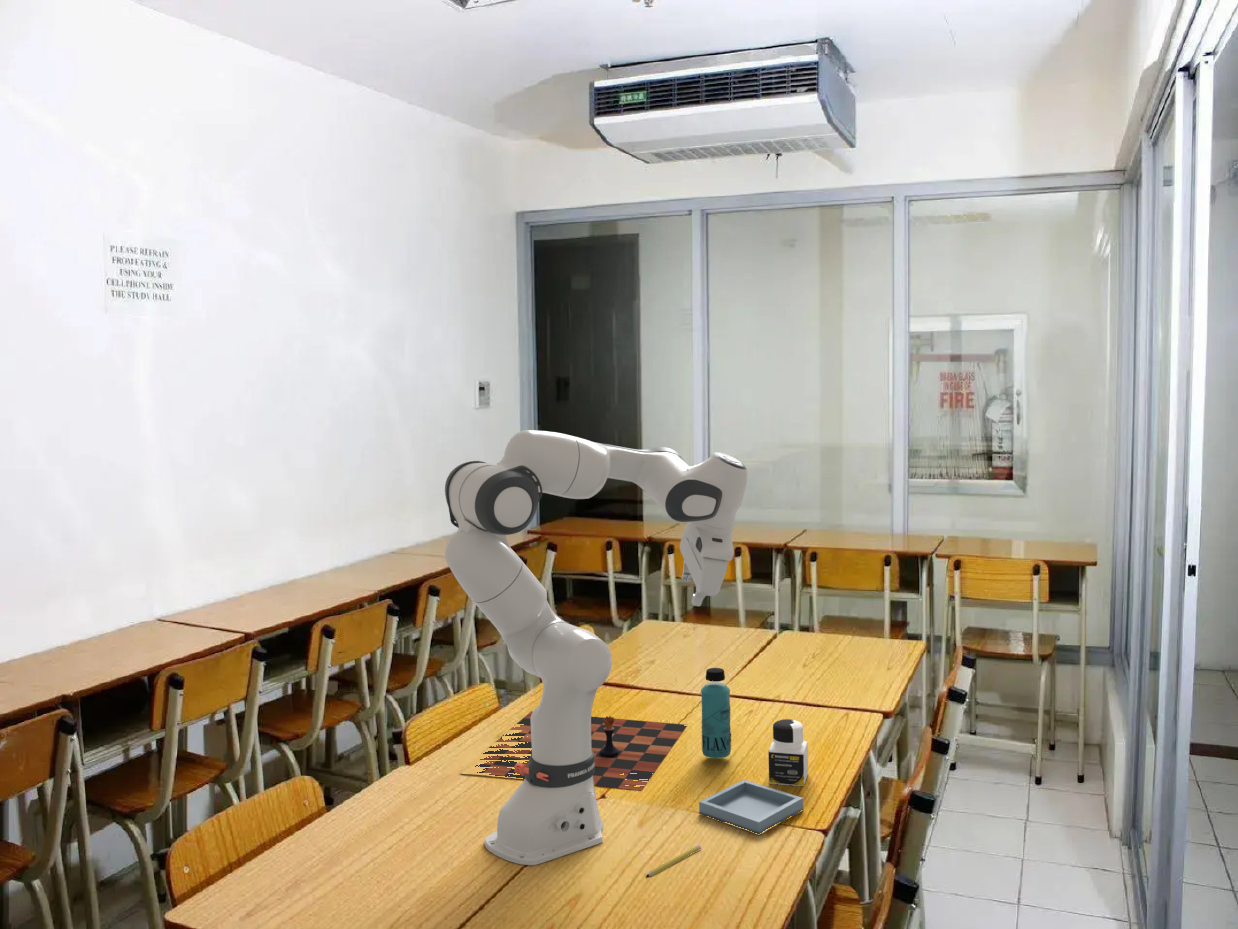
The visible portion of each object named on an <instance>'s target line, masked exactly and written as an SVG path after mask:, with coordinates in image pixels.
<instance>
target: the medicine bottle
mask: <svg viewBox="0 0 1238 929" xmlns="http://www.w3.org/2000/svg"><path fill="white" fill-rule="evenodd" d="M808 744H809V742H808V741H807V740H804V726H803V723H802V722H800V721H797V720H795V719H789V718H785V719H779V720H777V721H775V722H773V724H772V742H771V745H770V747H769V749H768V753H767V754H768V783H769V784H770V785H777V784H778V785H780V786H789V785H795V786H794V787H800V786H803V787H804V786H805V784H806V780H807V778H808V774H809V752H808V751H809V749H808V748H809V747H808V746H809V745H808Z"/></svg>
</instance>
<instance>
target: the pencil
mask: <svg viewBox="0 0 1238 929" xmlns="http://www.w3.org/2000/svg"><path fill="white" fill-rule="evenodd" d="M699 849H701V850H702V847H701V846H700V844H697V845H695V846H694V847H692V848H690V849H688V850H686V851H684V852H682V853H681V854H679V855H677V856H675V857H673V858H672V859H669V860H667V861H666V862H664V863H662V864H660V865H659V866H656V867H655V868H653V869H651V870H649V871H648V873H647V874H646V876H645V878H647V877H648V878H649V877H652V876H656V875H657V874H659V873H660V871H661V872H662V870H663V871H665V870H666V869H668V868H670V867H671V866H670V865H672V866H673V864H674V865H675V864H677V863H679V862H680V861H679V860H681V859H683V860H685V859H686V858H688V857H689V856H688V855H690V854H691V853H693V852H696V851H697V852H699V851H700V850H699ZM698 850H699V851H698ZM697 852H696V853H697ZM687 856H688V857H687ZM690 856H691V855H690ZM685 857H686V858H685ZM684 858H685V859H684ZM678 861H679V862H678ZM681 861H682V860H681ZM676 862H677V863H676ZM669 866H670V867H669ZM667 867H668V868H667ZM665 868H666V869H665Z"/></svg>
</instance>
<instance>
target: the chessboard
mask: <svg viewBox="0 0 1238 929" xmlns="http://www.w3.org/2000/svg"><path fill="white" fill-rule="evenodd" d="M533 711H534V710H531V711H529V712H528V714H526V715H525V716H524V717H523V718H521V719H520V720H519V721H518V722H517V723H516V724H524V725H520V727H515V728H514V727H513V726H512V727H511V728H510V729H509V730H522V731H521V732H519V733H515V734H514V733H513V734H512V735H511V734H509V735H507V734H506V735H505V736H524V738H523V737H521V738H519V737H518V738H517V739H516V738H514V739H512V738H511V740H509V739H508V740H505V741H504V740H503V739H502V736H504V734H502V736H500V737H501V738H500V737H499V738H500V739H499V738H498V739H497V740H496V741H495V742H525V744H523V743H521V744H519V743H518V745H519V746H518V745H515V746H516V747H515V746H509V745H507V744H504V745H503V744H501V746H500V745H499V744H498V746H497V745H496V747H494V746H493V747H492V746H491V745H490V746H489V747H488V748H532V743H531V715H532V712H533ZM684 725H685V724H683V723H672V722H669V723H668V722H658V721H647V720H639V719H638V720H635V719H624V718H615V717H614V716H610V715H609V717H608V716H605V717H603V716H602V717H601V716H591V747H592V751H593V753H594V762H595V773H594V775H593V781H594V786H597V787H596V788H604V787H606V789H615V788H616V789H617V790H626V791H627V790H629V791H638V792H642V791H643V790H644V789H645V787H646V785H647V784H648V783H647V782H642V781H648V782H649V781H650V780H651V778H653V777H652V775H654V774H655V773H656V772H657V770H658V768H659V767H660V765H661V764H662V763H663V761H664V760H665V759H666V757H667V756H668V754H669V752H671V750H672V749H673V747H674V745H675V744H676V743H677V741H678V740H679V739H680V737H681V736H682V734H683V733H684V731H685V730H686V728H687V727H688V726H684ZM527 736H528V737H527ZM527 742H528V743H527ZM499 750H500V751H498V750H497V751H495V752H494V751H488V752H485V753H483V752H482V753H483V754H532V750H531V751H530V750H521V751H520V750H517V751H518V752H517V751H515V750H514V751H515V752H516V753H515V752H513V751H509V750H503V749H502V750H501V749H499ZM507 756H508V757H506V756H505V757H503V756H498V755H497V756H491V757H492V758H491V757H490V756H488V757H489V758H487V757H486V758H484V759H480V760H501V761H489V762H490V763H489V762H487V761H486V762H487V763H484V764H480V765H479V766H480V767H493V768H485V769H486V770H485V769H483V770H485V771H482V772H479V773H491V774H489V775H495V776H505V777H507V776H508V777H516V778H523V779H525V775H524V776H522V775H521V774H520V775H513V774H508V773H514V774H515V773H516V772H514V771H515V770H514V769H512V768H507V767H515V766H516V764H517V762H514V761H509V762H510V763H509V762H508V760H529V759H530V756H527V757H528V758H527V757H525V756H523V757H525V758H520V757H515V756H511V757H510V756H509V755H507ZM502 760H504V761H506V760H507V761H506V762H502ZM492 762H493V763H492ZM525 762H527V763H524V762H523V763H522V764H525V765H527V766H528V762H529V761H525ZM476 766H478V765H476ZM476 766H475V767H476ZM479 766H478V767H479ZM494 767H496V768H494ZM498 767H499V768H498ZM477 773H478V772H477ZM623 773H624V775H620V774H623ZM630 773H637V774H630ZM652 773H654V774H652ZM509 775H510V776H509ZM625 779H627V780H625ZM639 779H648V780H639ZM649 779H650V780H649ZM633 780H638V781H633ZM625 785H629V786H625ZM636 785H645V786H640V787H634V786H636Z"/></svg>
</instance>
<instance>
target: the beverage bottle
mask: <svg viewBox="0 0 1238 929" xmlns="http://www.w3.org/2000/svg"><path fill="white" fill-rule="evenodd" d="M725 675H726V674H725V670H724V668H720V667H709V668H706V671H705V680H706V681H708V683H706V684H705V685H704V686H703V687H701V690H700V693H701V694H700V695H701V733H700V735H701V736H700V738H701V739H700V740H701V742H700V743H701V752H702V755H703V756H705V757H706V758H711V759H722V758H726V757H728V756H730V755H731V751H732V733H731V730H732V728H731V717H732V715H731V714H732V712H731V706H732V705H731V702H730V701H731V699H730V698H731V695H730V693H731V690H730V687H728V685H727V684H725V683H723V682H722V681H725V680H726V676H725Z"/></svg>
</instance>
